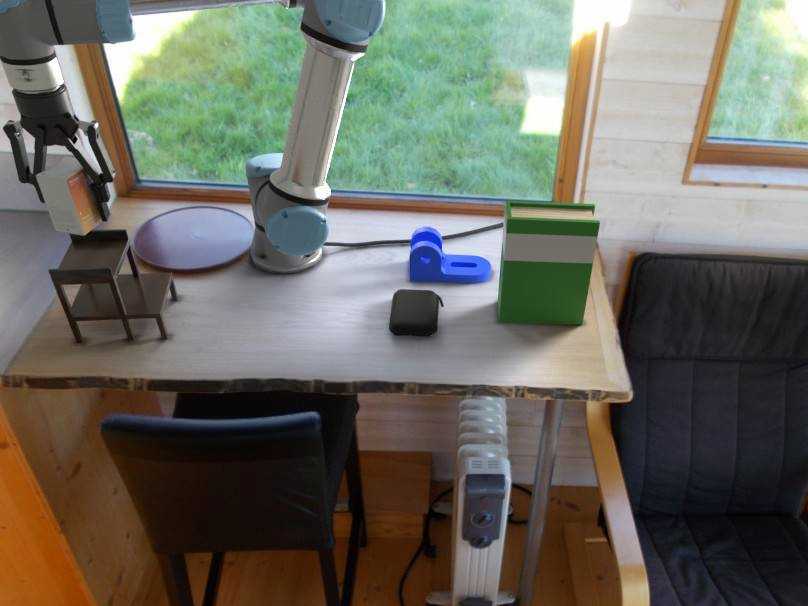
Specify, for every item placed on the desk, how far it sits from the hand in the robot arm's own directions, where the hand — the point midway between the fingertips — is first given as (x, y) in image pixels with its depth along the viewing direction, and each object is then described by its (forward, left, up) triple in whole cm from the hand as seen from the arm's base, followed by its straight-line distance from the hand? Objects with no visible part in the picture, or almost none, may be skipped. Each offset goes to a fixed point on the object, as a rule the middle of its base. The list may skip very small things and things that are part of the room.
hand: (82, 218), depth 130 cm
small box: (0, 0, -1) cm, 1 cm away
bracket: (-67, -13, -22) cm, 72 cm away
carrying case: (-58, +4, -22) cm, 63 cm away
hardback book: (-84, +4, -22) cm, 87 cm away
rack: (-2, 0, -22) cm, 22 cm away
